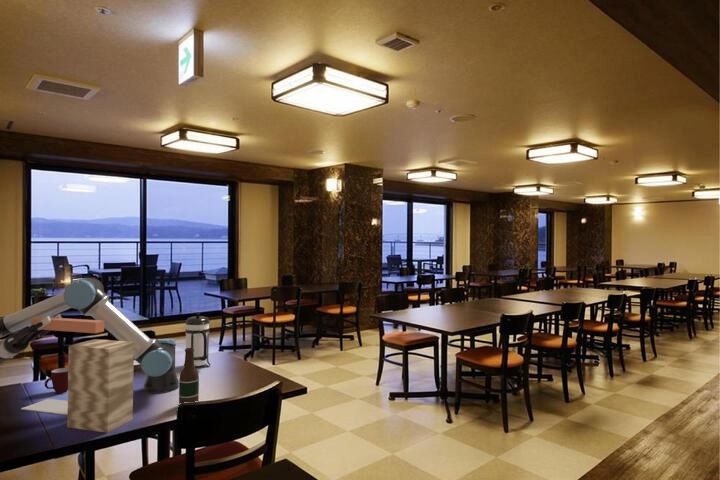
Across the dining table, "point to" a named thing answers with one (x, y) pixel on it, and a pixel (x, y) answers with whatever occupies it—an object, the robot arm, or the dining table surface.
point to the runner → (49, 406)
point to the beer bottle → (189, 379)
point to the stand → (100, 385)
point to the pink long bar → (72, 325)
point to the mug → (59, 380)
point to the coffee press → (198, 338)
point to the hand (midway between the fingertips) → (54, 318)
